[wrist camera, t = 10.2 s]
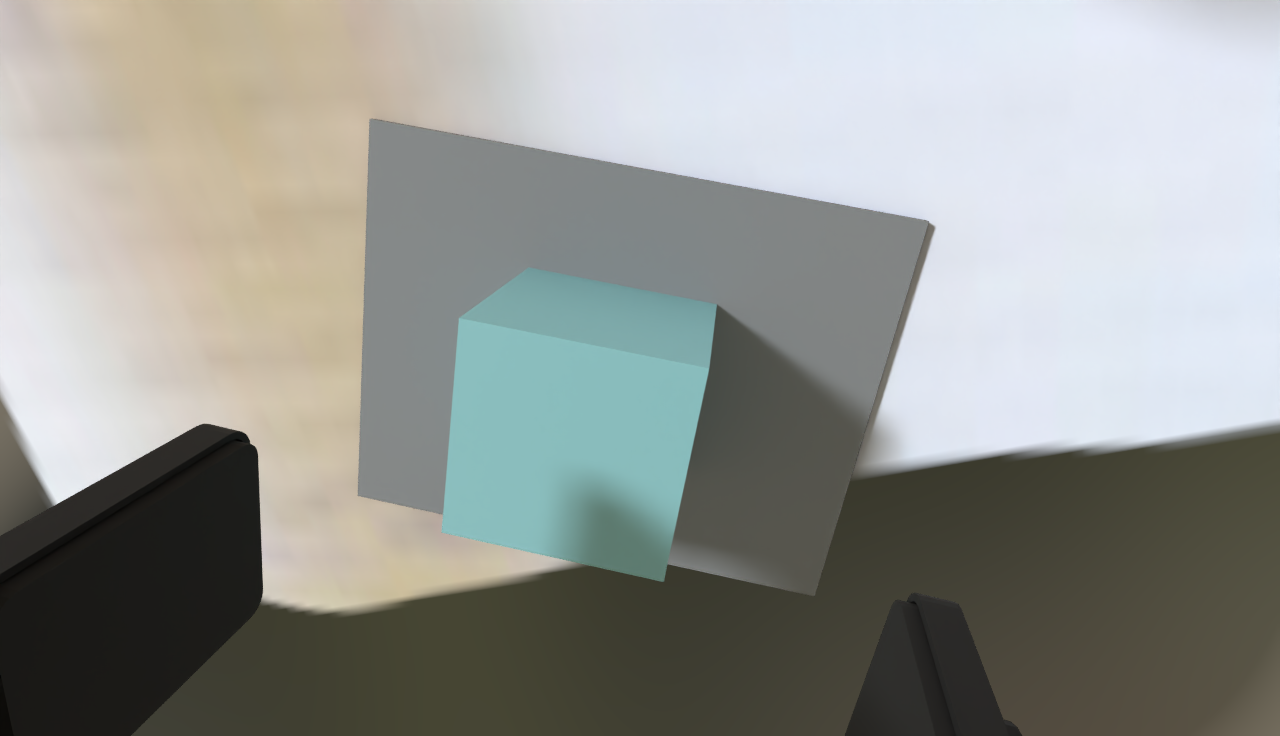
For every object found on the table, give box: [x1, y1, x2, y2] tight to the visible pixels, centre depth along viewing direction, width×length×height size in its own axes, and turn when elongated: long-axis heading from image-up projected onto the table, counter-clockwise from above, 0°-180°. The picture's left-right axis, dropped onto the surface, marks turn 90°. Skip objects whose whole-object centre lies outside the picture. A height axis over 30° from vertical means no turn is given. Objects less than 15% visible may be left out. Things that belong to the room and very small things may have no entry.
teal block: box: [442, 268, 717, 582], centre depth 17 cm, size 5×5×5 cm
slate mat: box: [358, 119, 929, 596], centre depth 20 cm, size 14×11×1 cm
